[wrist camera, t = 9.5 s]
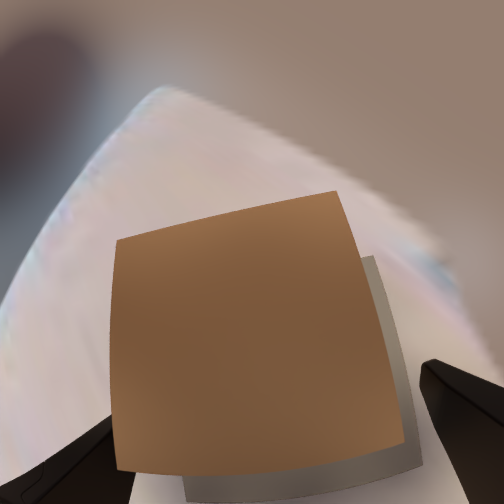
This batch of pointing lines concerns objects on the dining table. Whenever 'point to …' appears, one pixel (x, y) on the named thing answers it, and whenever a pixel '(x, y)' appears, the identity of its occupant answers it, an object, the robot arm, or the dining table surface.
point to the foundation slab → (339, 471)
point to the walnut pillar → (248, 345)
